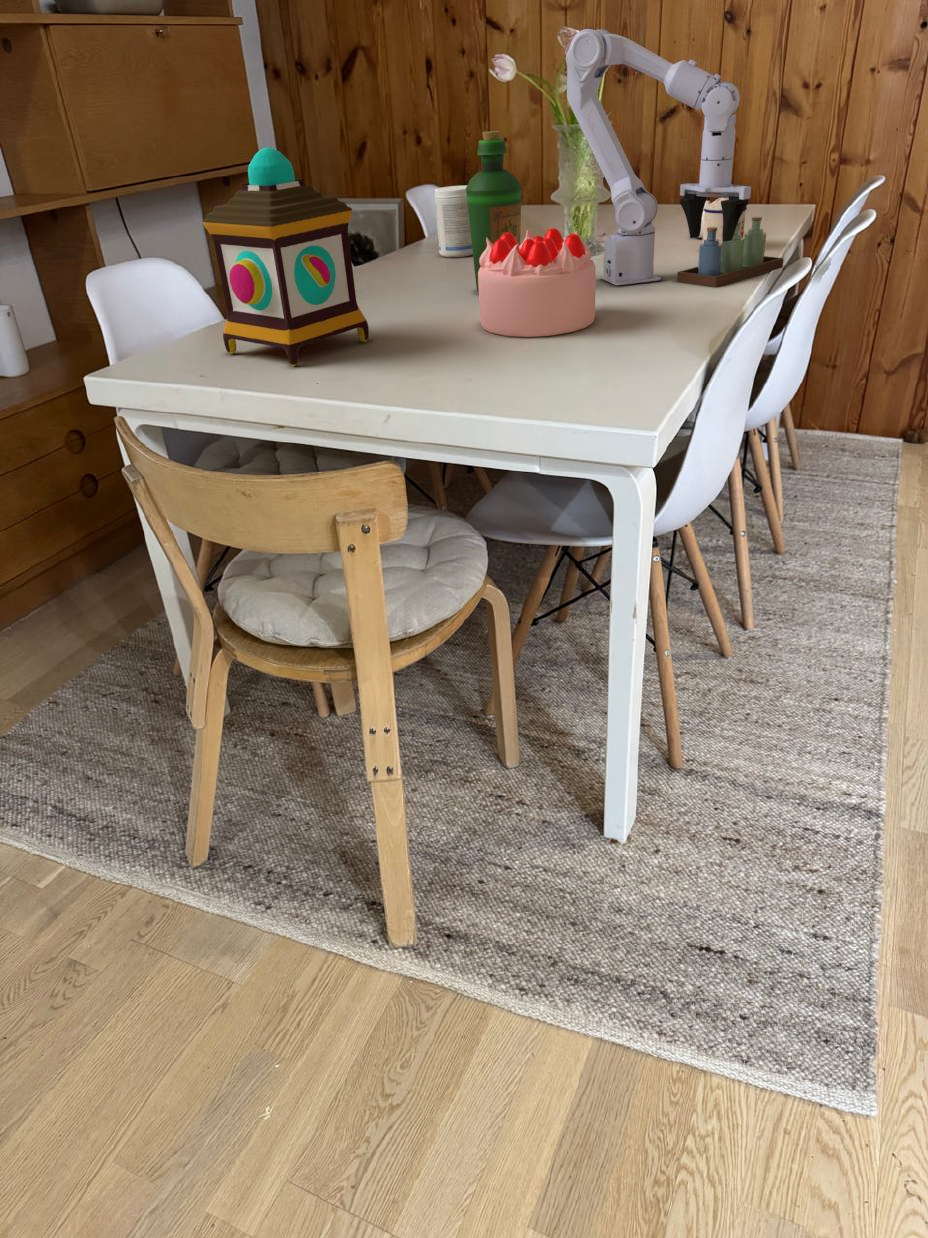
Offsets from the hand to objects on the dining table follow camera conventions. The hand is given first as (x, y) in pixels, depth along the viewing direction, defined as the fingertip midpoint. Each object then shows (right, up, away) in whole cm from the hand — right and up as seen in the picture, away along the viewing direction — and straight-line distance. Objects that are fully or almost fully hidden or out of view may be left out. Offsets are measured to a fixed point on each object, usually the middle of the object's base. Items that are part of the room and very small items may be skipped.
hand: (710, 238), depth 171 cm
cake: (-34, -21, -16) cm, 43 cm away
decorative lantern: (-75, -27, -20) cm, 82 cm away
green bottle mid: (+6, -3, +7) cm, 10 cm away
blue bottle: (+1, -6, +4) cm, 7 cm away
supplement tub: (-48, +16, +47) cm, 69 cm away
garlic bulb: (+10, +19, +45) cm, 50 cm away
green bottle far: (+11, -1, +11) cm, 16 cm away
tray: (+6, -4, +8) cm, 10 cm away
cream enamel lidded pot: (+11, +11, +31) cm, 35 cm away
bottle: (-40, -7, +8) cm, 42 cm away
